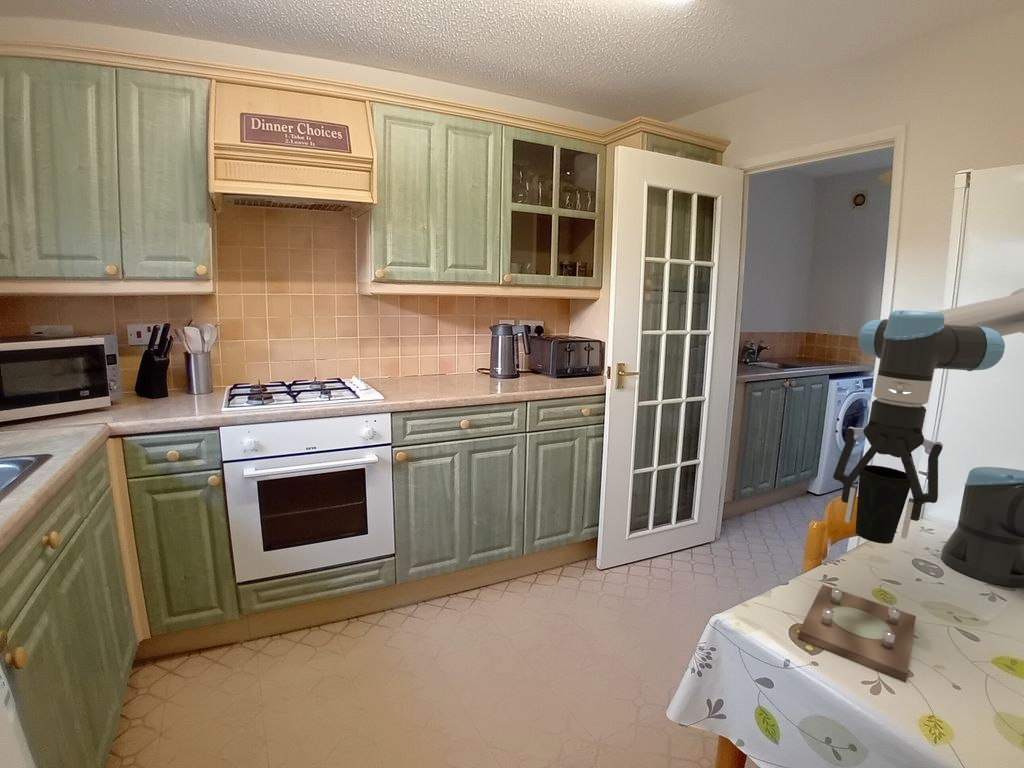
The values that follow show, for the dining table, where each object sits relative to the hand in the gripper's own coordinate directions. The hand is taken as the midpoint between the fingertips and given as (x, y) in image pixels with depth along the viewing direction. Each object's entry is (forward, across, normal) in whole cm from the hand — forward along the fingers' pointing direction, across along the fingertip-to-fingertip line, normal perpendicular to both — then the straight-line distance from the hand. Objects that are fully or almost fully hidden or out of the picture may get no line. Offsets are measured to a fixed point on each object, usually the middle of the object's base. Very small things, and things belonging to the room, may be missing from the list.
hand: (875, 527), depth 94 cm
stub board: (+18, +1, -4) cm, 18 cm away
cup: (+2, 0, 0) cm, 2 cm away
